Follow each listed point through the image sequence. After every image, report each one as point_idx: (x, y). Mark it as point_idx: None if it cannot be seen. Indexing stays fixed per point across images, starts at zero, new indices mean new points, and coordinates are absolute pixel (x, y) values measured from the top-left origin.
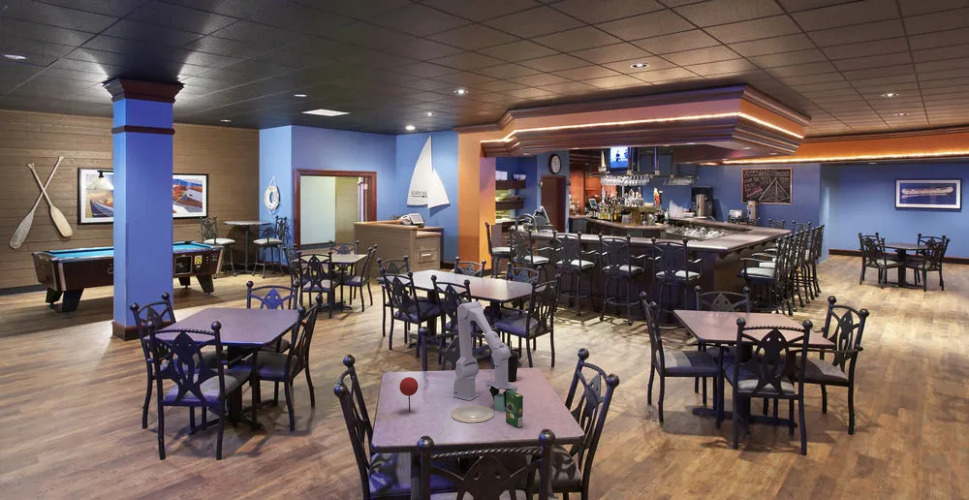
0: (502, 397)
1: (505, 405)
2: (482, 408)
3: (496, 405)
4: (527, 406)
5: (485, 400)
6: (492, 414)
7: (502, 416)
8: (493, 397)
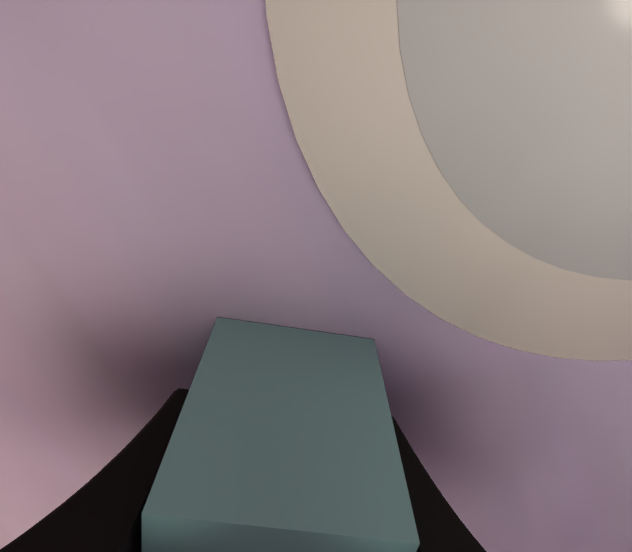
0: (178, 525)
1: (179, 403)
2: (566, 258)
3: (343, 379)
4: None
5: (568, 536)
6: (299, 50)
7: (131, 120)
8: (441, 517)
